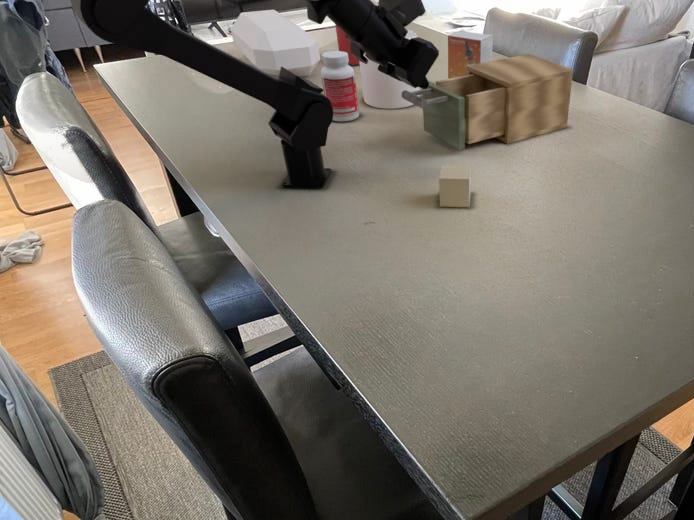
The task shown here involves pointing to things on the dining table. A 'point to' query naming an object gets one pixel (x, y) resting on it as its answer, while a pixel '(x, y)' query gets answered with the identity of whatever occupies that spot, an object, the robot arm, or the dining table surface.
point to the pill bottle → (340, 85)
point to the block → (454, 186)
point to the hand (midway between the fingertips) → (426, 86)
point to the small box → (467, 51)
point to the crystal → (275, 43)
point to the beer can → (345, 46)
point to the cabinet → (530, 94)
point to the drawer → (462, 109)
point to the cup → (384, 85)
